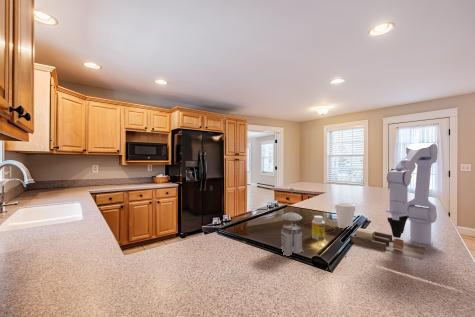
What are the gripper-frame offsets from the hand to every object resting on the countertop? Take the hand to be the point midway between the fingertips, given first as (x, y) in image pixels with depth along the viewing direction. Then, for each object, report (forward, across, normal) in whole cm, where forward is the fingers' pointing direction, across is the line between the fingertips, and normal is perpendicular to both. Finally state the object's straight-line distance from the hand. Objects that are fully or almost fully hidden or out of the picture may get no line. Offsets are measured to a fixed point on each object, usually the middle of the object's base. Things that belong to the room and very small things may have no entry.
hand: (398, 234), depth 85 cm
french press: (+7, +31, -30) cm, 43 cm away
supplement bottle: (+7, +9, -28) cm, 31 cm away
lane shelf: (+7, -4, -4) cm, 9 cm away
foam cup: (+7, -15, -24) cm, 30 cm away
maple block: (+6, 0, -7) cm, 9 cm away
